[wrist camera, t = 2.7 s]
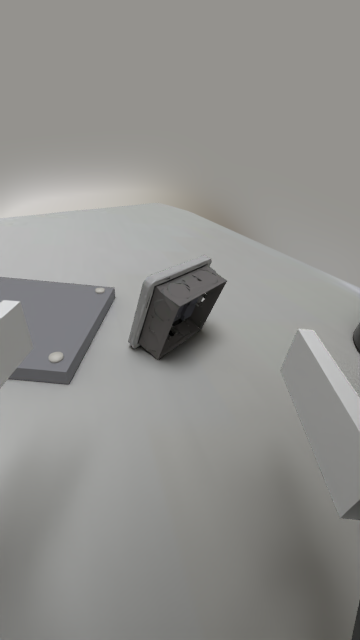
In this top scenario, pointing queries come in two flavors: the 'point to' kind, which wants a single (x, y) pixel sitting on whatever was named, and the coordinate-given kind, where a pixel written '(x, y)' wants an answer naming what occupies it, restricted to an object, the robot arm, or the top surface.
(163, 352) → the electrical switch
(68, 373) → the mounting plate
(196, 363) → the top surface
